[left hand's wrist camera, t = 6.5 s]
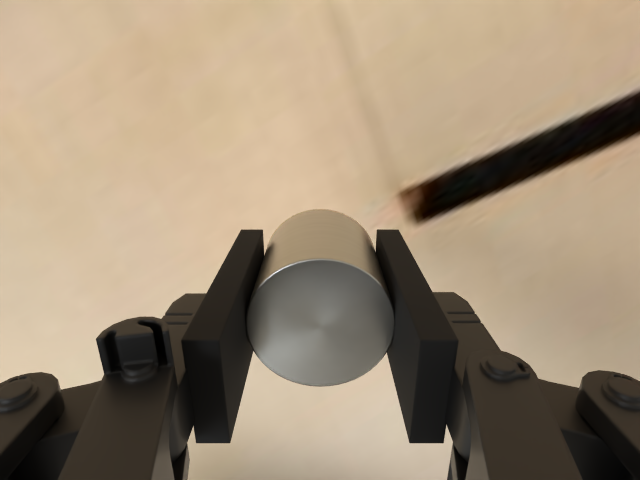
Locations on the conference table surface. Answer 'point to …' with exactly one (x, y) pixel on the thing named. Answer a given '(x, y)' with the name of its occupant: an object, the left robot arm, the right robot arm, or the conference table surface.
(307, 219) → the tin
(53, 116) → the conference table surface
